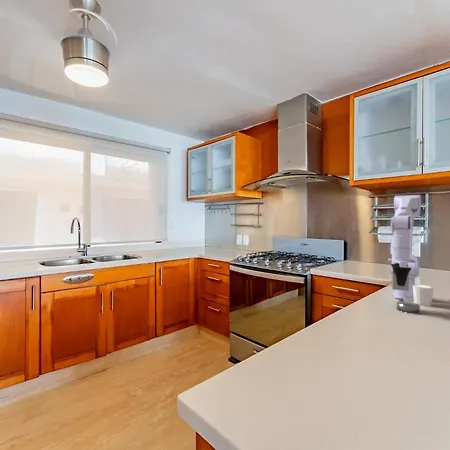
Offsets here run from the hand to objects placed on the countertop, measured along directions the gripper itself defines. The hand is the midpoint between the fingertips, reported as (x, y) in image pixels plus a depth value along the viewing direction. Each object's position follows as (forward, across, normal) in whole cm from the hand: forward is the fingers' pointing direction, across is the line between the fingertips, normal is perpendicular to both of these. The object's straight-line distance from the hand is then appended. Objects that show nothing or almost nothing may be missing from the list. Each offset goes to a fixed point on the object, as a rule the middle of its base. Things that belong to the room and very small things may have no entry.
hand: (400, 284), depth 109 cm
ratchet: (+9, -1, +2) cm, 9 cm away
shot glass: (+9, -11, +9) cm, 17 cm away
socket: (+2, 0, 0) cm, 2 cm away
